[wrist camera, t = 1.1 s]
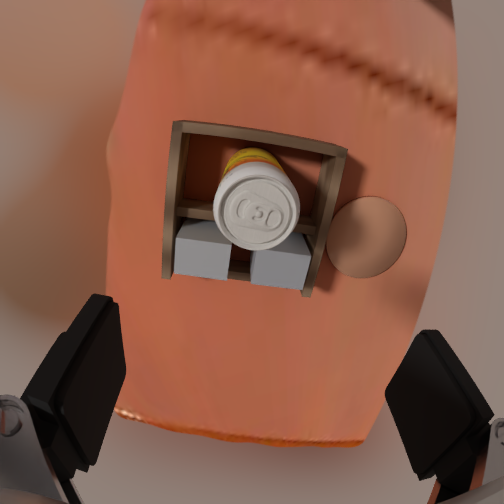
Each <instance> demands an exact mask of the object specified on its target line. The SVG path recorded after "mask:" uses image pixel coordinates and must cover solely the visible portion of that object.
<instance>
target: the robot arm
mask: <svg viewBox="0 0 504 504" xmlns="http://www.w3.org/2000/svg"><path fill="white" fill-rule="evenodd" d="M125 375H126V363H125V356H124V349H123V341H122V333H121V324H120V314H119V305H118V303H115V302H113V298H112V297H110V296H105V295H99V294H93V295H91V297H90V298H89V299H88V301H87V302H86V304H85V305H84V306H83V308H82V309H81V311H80V312H79V314H78V315H77V317H76V318H75V319H74V321H73V322H72V324H71V325H70V327H69V328H68V330H67V331H66V332H63V333H61V334H60V335H59V337H58V338H57V340H56V341H55V343H54V344H53V346H52V347H51V349H50V350H49V352H48V354H47V355H46V357H45V358H44V360H43V361H42V363H41V365H40V366H39V368H38V369H37V371H36V373H35V374H34V376H33V377H32V379H31V381H30V383H29V384H28V386H27V388H26V389H25V391H24V393H23V395H22V396H21V398H20V399H19V398H17V397H15V396H12V395H0V504H84V502H83V501H82V498H81V497H80V495H79V493H78V491H77V489H76V487H75V485H74V483H73V481H72V478H73V477H74V474H75V471H76V469H78V470H81V471H84V472H88V469H89V465H92V466H94V465H95V464H96V462H97V458H98V455H99V452H100V449H101V446H102V443H103V439H104V436H105V433H106V430H107V427H108V424H109V421H110V418H111V416H112V413H113V410H114V407H115V404H116V401H117V398H118V396H119V393H120V390H121V387H122V385H123V382H124V379H125ZM385 398H386V401H387V403H388V406H389V408H390V411H391V413H392V415H393V418H394V421H395V423H396V426H397V428H398V431H399V434H400V436H401V439H402V442H403V444H404V447H405V450H406V452H407V455H408V458H409V461H410V463H411V466H412V469H413V471H414V473H416V474H417V476H418V478H419V481H421V480H424V479H427V478H431V477H432V476H434V475H435V474H436V477H437V479H436V482H435V484H434V487H433V490H432V493H431V495H430V498H429V501H428V503H427V504H504V418H498V419H496V420H494V421H493V423H492V424H491V425H490V424H489V423H488V422H489V421H490V420H491V418H492V417H493V416H494V413H493V412H492V410H491V408H490V406H489V405H488V403H487V402H486V400H485V399H484V397H483V395H482V394H481V392H480V390H479V389H478V387H477V386H476V384H475V382H474V381H473V379H472V378H471V376H470V375H469V373H468V372H467V370H466V369H465V367H464V366H463V364H462V363H461V361H460V360H459V358H458V357H457V356H456V354H455V353H454V351H453V350H452V348H451V347H450V346H449V344H448V343H447V341H446V340H445V338H444V337H443V336H442V334H441V333H440V332H439V331H438V330H422V331H421V332H420V333H419V334H417V336H416V337H415V338H414V340H413V342H412V344H411V346H410V348H409V349H408V351H407V353H406V355H405V357H404V359H403V360H402V362H401V364H400V366H399V367H398V369H397V371H396V372H395V374H394V376H393V378H392V379H391V381H390V383H389V384H388V386H387V387H386V390H385Z"/></svg>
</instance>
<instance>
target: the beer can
mask: <svg viewBox="0 0 504 504" xmlns="http://www.w3.org/2000/svg"><path fill="white" fill-rule="evenodd" d="M213 213H214V218H215V222H216V224H217V226H218V228H219V230H220V231H221V233H222V234H223V235H224V236H225V237H226V238H227V239H228V240H230V241H231V242H232V243H234V244H235V245H237V246H239V247H241V248H244V249H248V250H254V251H259V250H266V249H270V248H273V247H275V246H277V245H278V244H280V243H281V242H283V241H284V240H285V239H286V238H287V237H288V236H289V235H290V233H291V232H292V231H293V229H294V228H295V226H296V224H297V221H298V218H299V214H300V201H299V197H298V194H297V191H296V189H295V187H294V186H293V184H292V183H291V181H290V179H289V178H288V176H287V175H286V173H285V172H284V170H283V169H282V167H281V166H280V164H279V163H278V161H277V160H276V158H275V157H274V156H273V155H272V154H271V153H270V152H268V151H266V150H264V149H262V148H258V147H248V148H244V149H242V150H240V151H238V152H236V153H235V154H234V155H233V156H232V157H231V158H230V160H229V161H228V163H227V166H226V168H225V171H224V173H223V176H222V179H221V181H220V184H219V187H218V189H217V192H216V195H215V198H214V203H213Z"/></svg>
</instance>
